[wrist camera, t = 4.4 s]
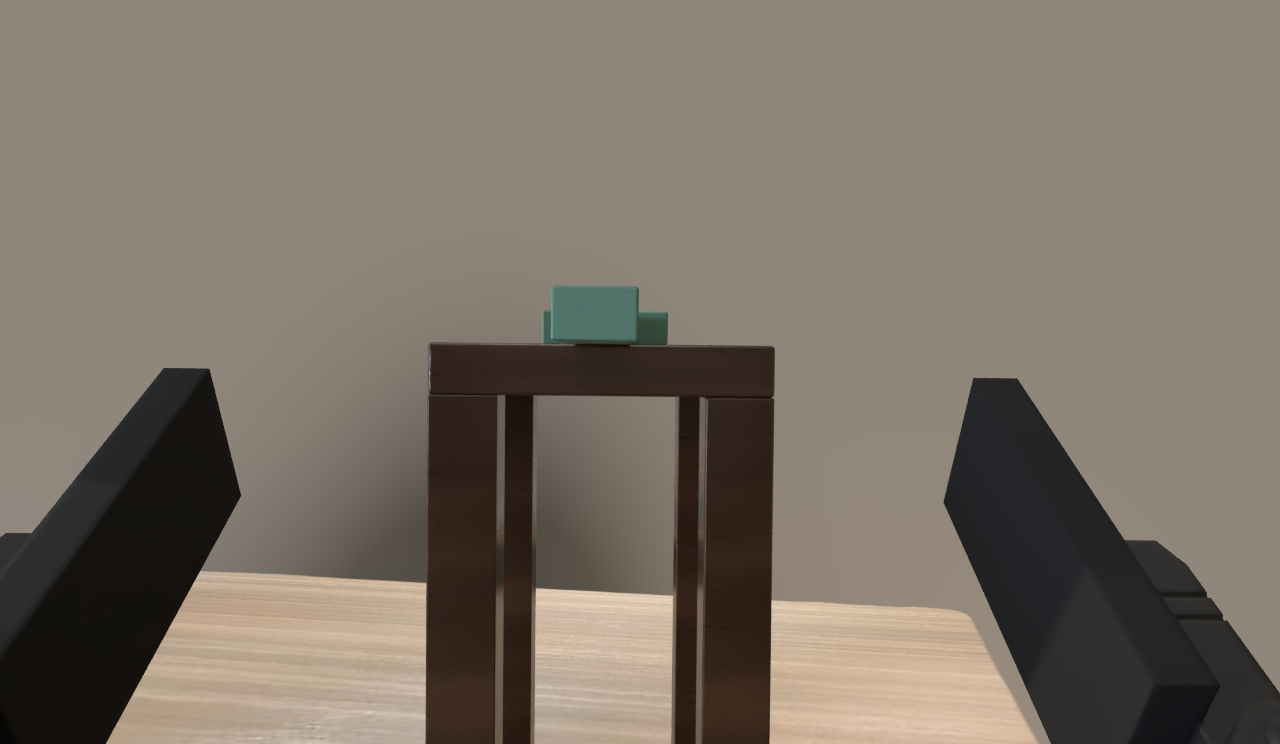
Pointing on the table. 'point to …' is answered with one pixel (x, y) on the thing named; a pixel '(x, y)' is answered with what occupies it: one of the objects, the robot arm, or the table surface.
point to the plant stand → (506, 530)
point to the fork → (601, 317)
